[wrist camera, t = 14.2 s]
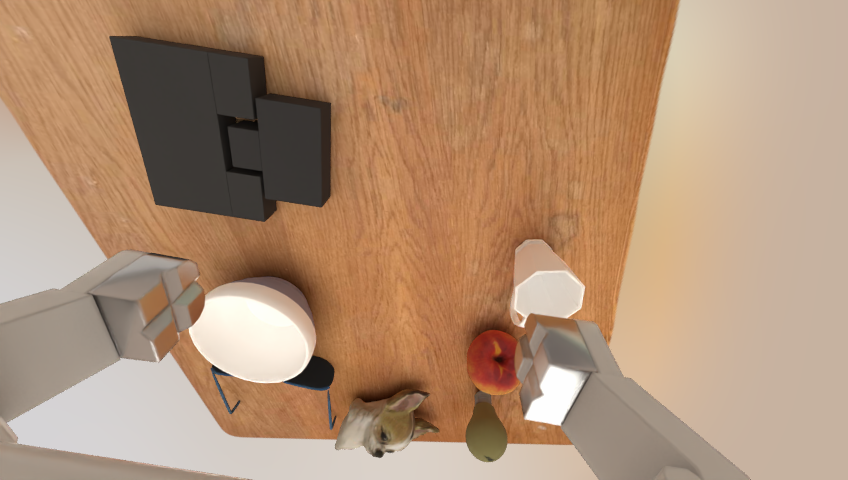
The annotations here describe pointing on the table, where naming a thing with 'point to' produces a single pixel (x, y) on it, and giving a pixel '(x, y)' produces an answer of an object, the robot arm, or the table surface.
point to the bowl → (256, 329)
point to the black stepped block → (287, 148)
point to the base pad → (193, 123)
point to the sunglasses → (299, 380)
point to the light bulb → (485, 430)
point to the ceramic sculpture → (384, 424)
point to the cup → (543, 283)
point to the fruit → (493, 362)
